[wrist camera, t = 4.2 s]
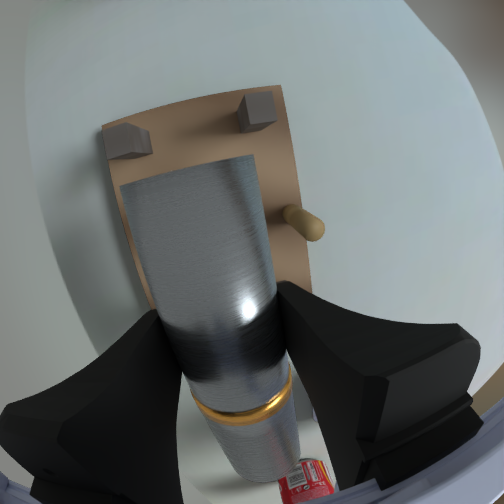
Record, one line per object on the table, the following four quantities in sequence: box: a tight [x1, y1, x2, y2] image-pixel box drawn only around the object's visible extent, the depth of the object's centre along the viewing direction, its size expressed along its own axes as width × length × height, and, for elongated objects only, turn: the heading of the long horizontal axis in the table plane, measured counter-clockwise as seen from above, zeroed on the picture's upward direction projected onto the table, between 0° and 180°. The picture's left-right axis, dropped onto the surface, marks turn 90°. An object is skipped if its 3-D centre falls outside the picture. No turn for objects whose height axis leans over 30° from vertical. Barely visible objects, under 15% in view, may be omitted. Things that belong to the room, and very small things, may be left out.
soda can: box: [278, 459, 335, 504], centre depth 24 cm, size 7×7×12 cm
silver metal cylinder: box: [119, 154, 301, 483], centre depth 10 cm, size 15×4×4 cm, turn 10°
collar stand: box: [102, 85, 325, 310], centre depth 15 cm, size 15×11×6 cm
